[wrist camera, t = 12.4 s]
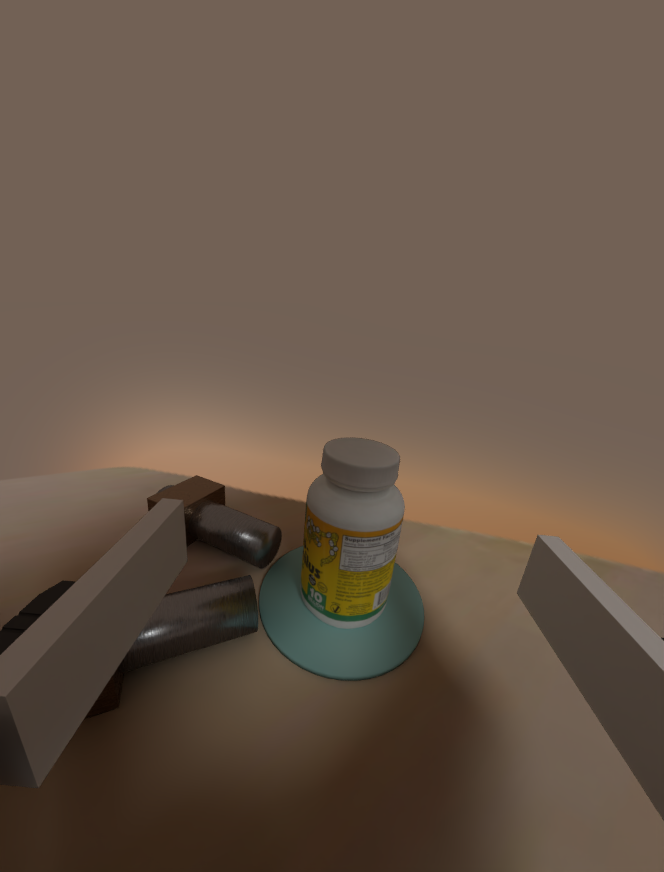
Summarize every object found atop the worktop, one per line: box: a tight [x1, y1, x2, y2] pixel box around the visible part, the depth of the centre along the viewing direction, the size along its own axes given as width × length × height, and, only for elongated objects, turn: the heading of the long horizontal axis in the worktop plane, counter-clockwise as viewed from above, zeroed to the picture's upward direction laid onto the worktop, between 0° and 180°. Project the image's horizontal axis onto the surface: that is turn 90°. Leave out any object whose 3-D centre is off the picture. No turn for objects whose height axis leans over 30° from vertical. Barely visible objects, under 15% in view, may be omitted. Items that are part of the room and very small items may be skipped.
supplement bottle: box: [300, 438, 405, 629], centre depth 18 cm, size 5×5×10 cm
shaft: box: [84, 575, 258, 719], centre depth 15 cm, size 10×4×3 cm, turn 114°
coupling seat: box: [259, 546, 424, 681], centre depth 20 cm, size 10×10×1 cm
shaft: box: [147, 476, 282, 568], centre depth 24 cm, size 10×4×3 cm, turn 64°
